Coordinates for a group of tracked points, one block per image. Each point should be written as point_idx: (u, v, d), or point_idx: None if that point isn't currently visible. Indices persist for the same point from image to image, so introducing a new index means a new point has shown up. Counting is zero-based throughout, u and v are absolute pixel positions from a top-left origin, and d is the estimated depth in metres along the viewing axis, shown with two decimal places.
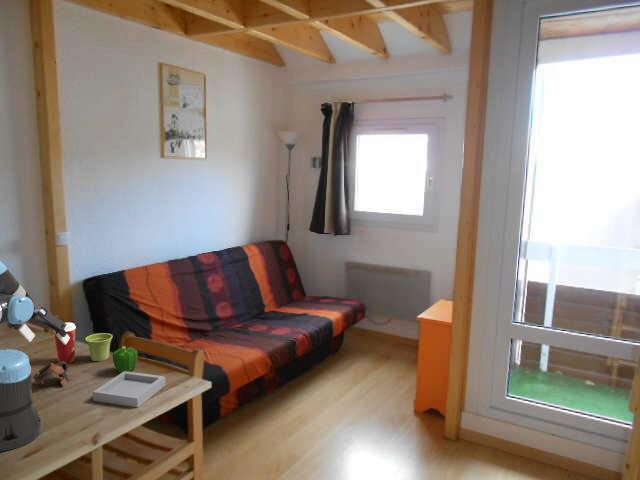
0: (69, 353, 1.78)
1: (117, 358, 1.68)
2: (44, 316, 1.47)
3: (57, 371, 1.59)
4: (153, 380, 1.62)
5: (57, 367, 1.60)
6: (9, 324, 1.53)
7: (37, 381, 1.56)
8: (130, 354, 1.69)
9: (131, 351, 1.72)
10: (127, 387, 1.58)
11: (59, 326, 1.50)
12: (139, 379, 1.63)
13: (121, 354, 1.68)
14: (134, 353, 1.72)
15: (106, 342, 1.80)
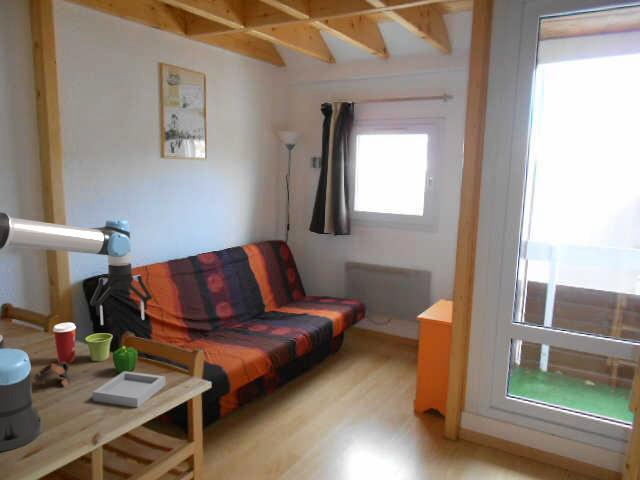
0: (69, 353, 1.78)
1: (117, 358, 1.68)
2: None
3: (58, 371, 1.59)
4: (153, 380, 1.62)
5: (58, 367, 1.60)
6: (94, 299, 1.63)
7: (38, 381, 1.56)
8: (130, 354, 1.69)
9: (131, 351, 1.72)
10: (127, 387, 1.58)
11: (149, 293, 1.72)
12: (139, 379, 1.63)
13: (121, 354, 1.68)
14: (134, 353, 1.72)
15: (106, 342, 1.80)
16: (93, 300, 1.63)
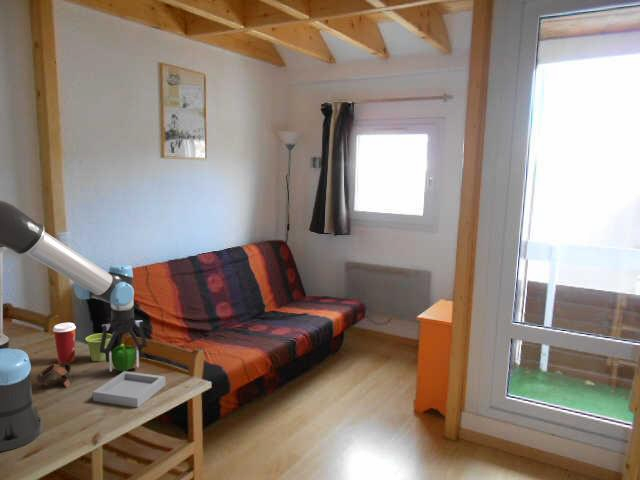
0: (69, 353, 1.78)
1: (116, 355, 1.67)
2: (142, 327, 1.72)
3: (60, 372, 1.58)
4: (153, 380, 1.62)
5: (60, 368, 1.60)
6: (102, 346, 1.67)
7: (40, 382, 1.56)
8: (129, 351, 1.69)
9: (130, 349, 1.71)
10: (127, 387, 1.58)
11: (145, 341, 1.74)
12: (139, 379, 1.63)
13: (120, 351, 1.68)
14: (133, 351, 1.71)
15: (106, 342, 1.80)
16: (102, 347, 1.67)
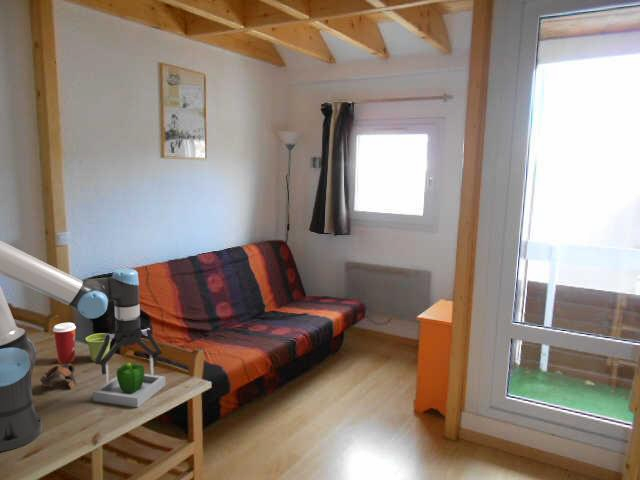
0: (69, 353, 1.78)
1: (122, 376, 1.51)
2: (151, 335, 1.56)
3: (65, 373, 1.57)
4: (153, 380, 1.62)
5: (64, 369, 1.59)
6: (99, 357, 1.49)
7: (45, 384, 1.55)
8: (136, 371, 1.53)
9: (137, 368, 1.55)
10: None
11: (159, 348, 1.58)
12: None
13: (126, 372, 1.52)
14: (140, 370, 1.55)
15: None
16: (98, 358, 1.49)
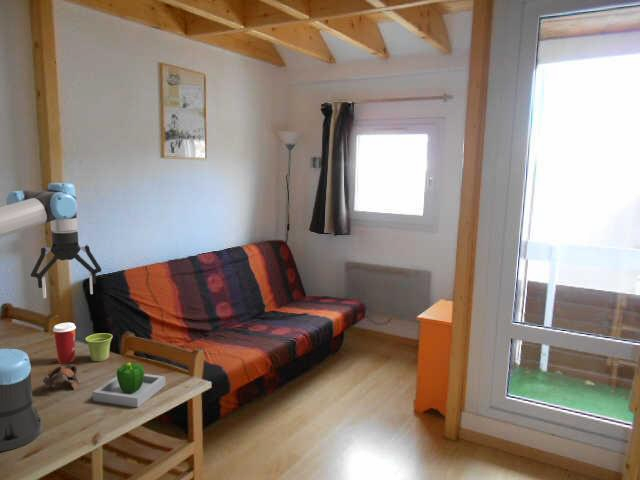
0: (69, 353, 1.78)
1: (122, 376, 1.51)
2: None
3: (68, 374, 1.57)
4: (153, 380, 1.62)
5: (67, 370, 1.58)
6: (35, 270, 1.49)
7: (48, 384, 1.54)
8: (136, 371, 1.53)
9: (137, 368, 1.55)
10: None
11: (99, 266, 1.58)
12: None
13: (126, 371, 1.52)
14: (140, 370, 1.55)
15: (106, 342, 1.80)
16: (34, 271, 1.49)
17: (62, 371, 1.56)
